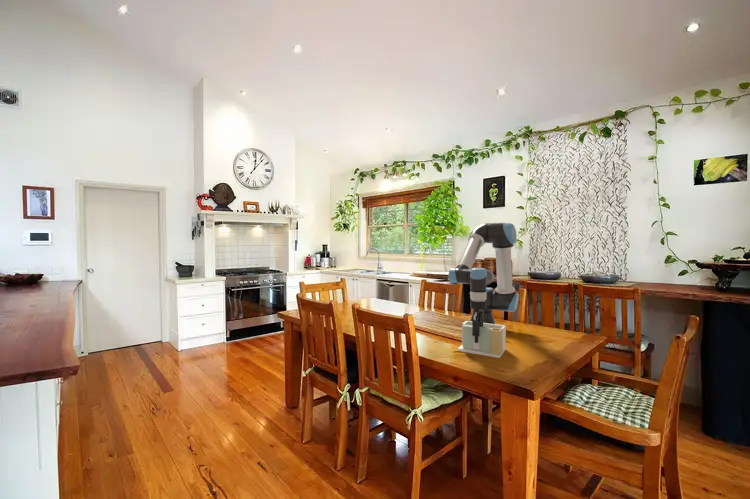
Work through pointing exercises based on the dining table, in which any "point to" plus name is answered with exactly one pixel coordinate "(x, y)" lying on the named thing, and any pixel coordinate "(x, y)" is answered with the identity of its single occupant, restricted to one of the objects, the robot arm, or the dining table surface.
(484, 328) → the door
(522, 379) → the dining table surface
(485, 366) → the dining table surface
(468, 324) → the box
